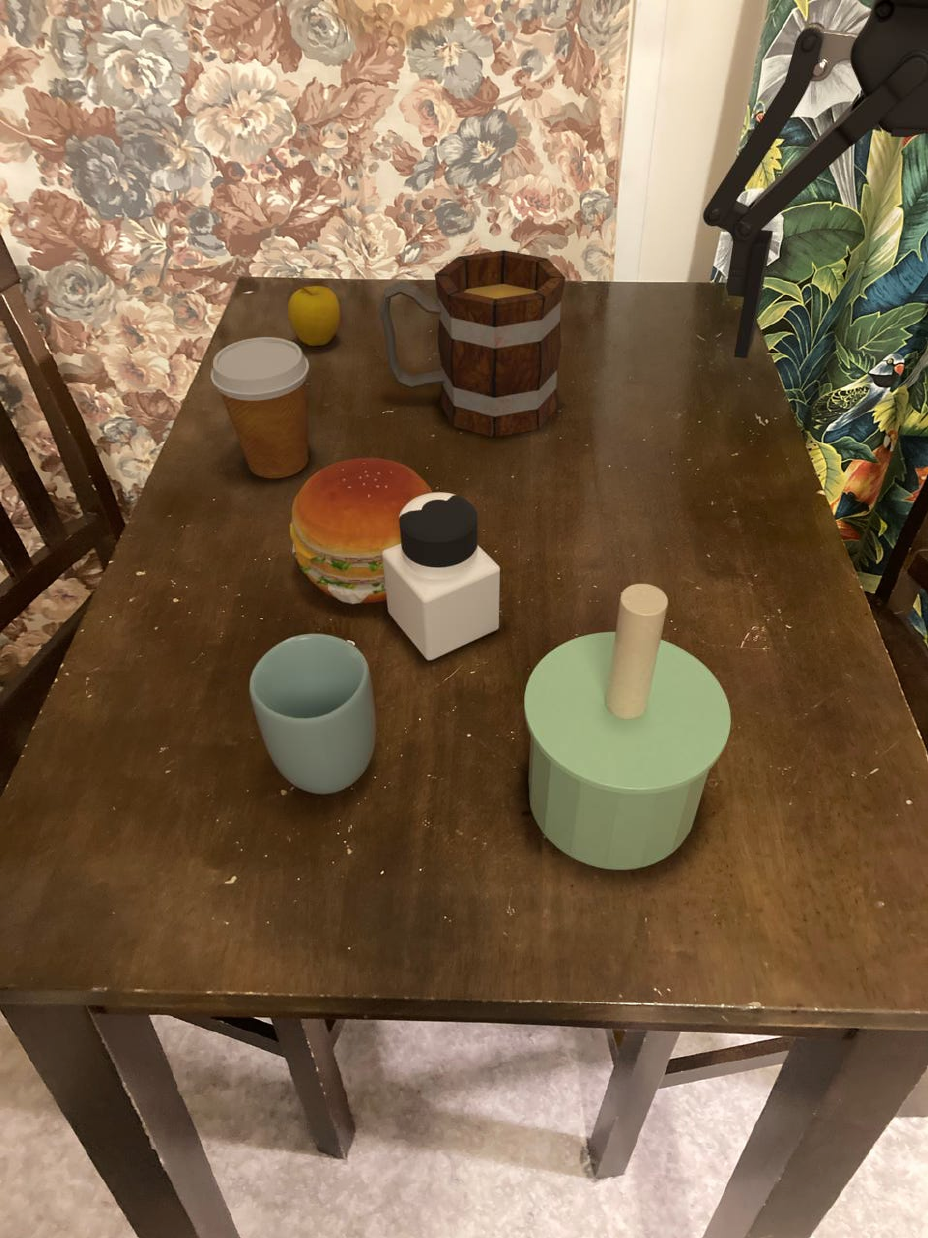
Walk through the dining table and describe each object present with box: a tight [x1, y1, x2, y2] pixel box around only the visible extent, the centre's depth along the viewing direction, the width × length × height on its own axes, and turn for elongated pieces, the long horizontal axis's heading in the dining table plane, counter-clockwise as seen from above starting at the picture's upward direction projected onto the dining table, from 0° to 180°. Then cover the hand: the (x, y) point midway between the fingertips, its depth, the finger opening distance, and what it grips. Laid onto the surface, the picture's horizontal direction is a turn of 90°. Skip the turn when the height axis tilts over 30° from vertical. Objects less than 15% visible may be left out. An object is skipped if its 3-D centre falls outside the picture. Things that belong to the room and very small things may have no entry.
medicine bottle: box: [382, 491, 501, 661], centre depth 70 cm, size 7×7×12 cm
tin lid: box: [523, 583, 732, 795], centre depth 51 cm, size 13×13×10 cm
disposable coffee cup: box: [210, 336, 310, 479], centre depth 88 cm, size 10×10×12 cm
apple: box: [287, 285, 341, 347], centre depth 108 cm, size 6×6×8 cm
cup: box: [248, 633, 377, 795], centre depth 60 cm, size 8×8×10 cm
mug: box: [379, 249, 566, 438], centre depth 94 cm, size 20×14×15 cm
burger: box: [289, 457, 433, 605], centre depth 76 cm, size 14×14×10 cm
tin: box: [527, 735, 710, 871], centre depth 58 cm, size 12×12×10 cm
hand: (862, 363), depth 51 cm, fingers open, 13 cm apart
